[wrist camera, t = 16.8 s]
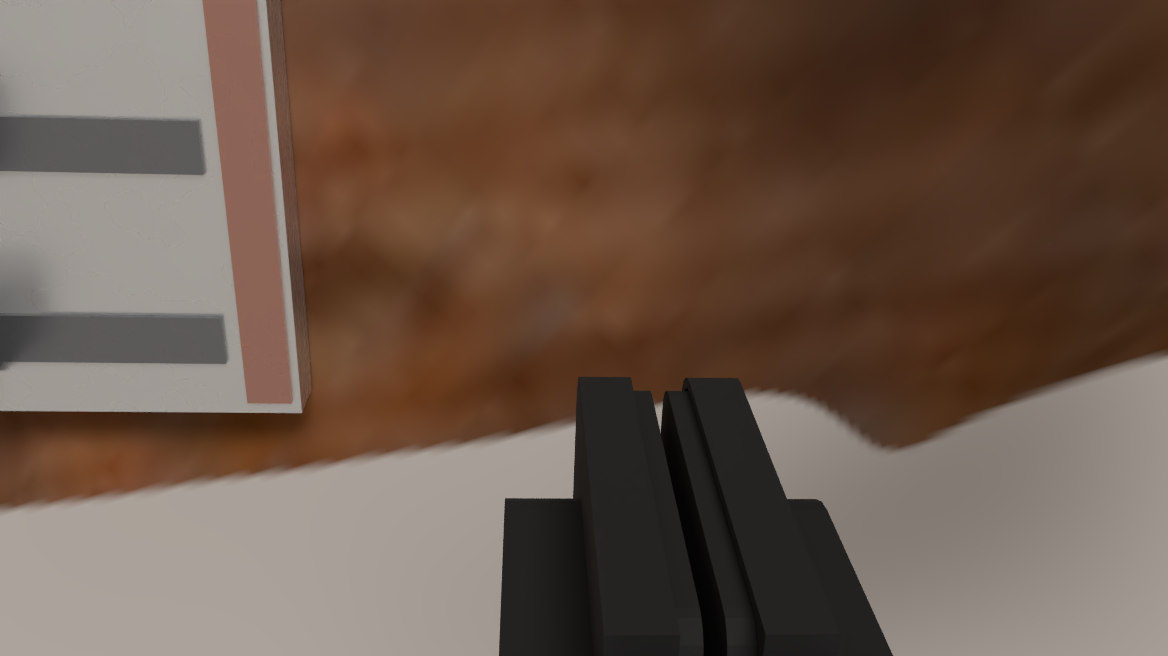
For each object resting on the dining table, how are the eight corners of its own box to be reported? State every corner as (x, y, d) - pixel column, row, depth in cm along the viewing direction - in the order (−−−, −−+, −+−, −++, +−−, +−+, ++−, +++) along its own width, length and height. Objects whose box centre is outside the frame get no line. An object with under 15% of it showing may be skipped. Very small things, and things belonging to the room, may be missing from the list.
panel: (-310, -208, 31) (-368, -213, 29) (265, -185, 32) (248, -188, 30) (-143, 383, 40) (-178, 412, 38) (312, 387, 41) (301, 415, 39)
